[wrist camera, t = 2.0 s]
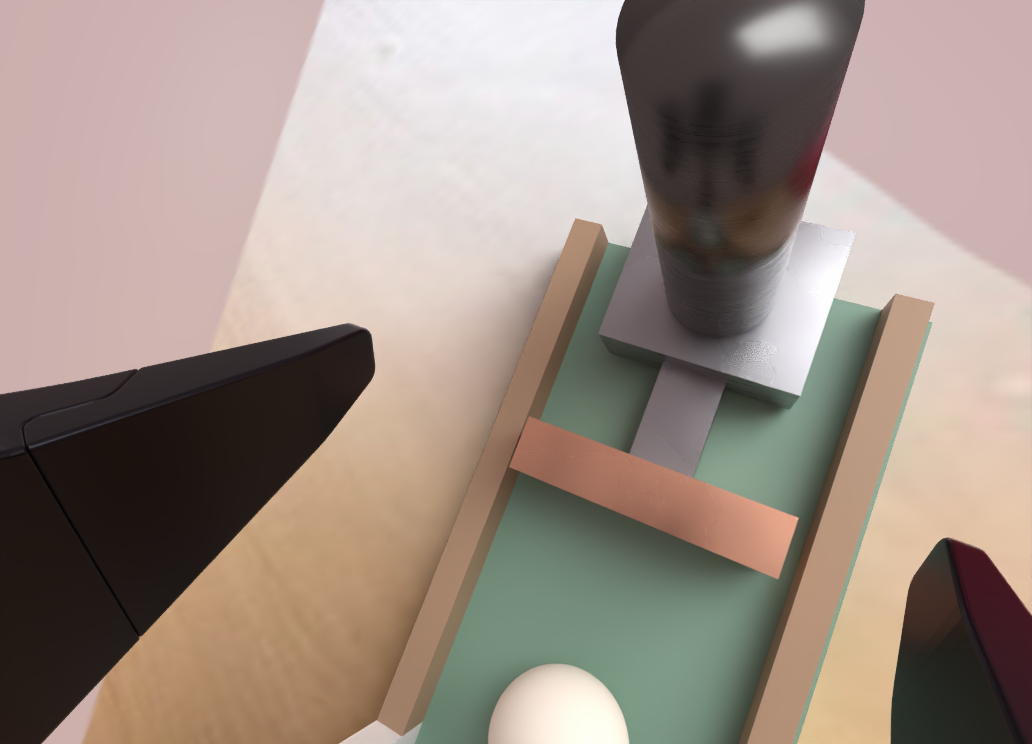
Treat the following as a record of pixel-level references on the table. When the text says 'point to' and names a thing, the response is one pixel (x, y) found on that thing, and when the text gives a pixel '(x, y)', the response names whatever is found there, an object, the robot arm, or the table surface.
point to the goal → (382, 735)
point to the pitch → (657, 535)
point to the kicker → (715, 254)
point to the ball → (557, 709)
